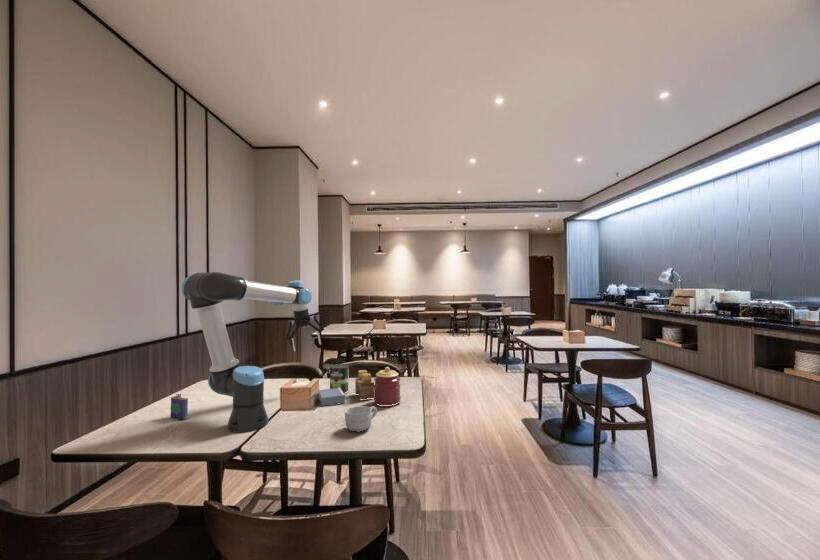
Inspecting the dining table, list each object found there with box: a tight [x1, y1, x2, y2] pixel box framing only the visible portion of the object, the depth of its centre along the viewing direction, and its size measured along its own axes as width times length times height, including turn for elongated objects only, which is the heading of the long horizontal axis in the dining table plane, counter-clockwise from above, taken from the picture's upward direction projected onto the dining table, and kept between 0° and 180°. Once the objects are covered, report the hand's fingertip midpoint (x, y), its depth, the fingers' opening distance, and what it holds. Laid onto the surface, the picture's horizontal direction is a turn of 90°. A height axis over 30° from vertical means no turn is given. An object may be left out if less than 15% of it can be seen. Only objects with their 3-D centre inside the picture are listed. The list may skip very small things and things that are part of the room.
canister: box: [373, 366, 401, 405], centre depth 177 cm, size 13×13×18 cm
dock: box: [318, 387, 346, 407], centre depth 181 cm, size 14×11×4 cm
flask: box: [170, 393, 189, 421], centre depth 157 cm, size 9×3×11 cm, turn 68°
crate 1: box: [357, 369, 368, 380], centre depth 191 cm, size 4×4×4 cm
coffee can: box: [329, 363, 350, 393], centre depth 196 cm, size 10×10×14 cm
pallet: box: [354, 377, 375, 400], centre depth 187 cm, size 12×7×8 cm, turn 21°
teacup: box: [344, 405, 378, 432], centre depth 145 cm, size 14×11×8 cm
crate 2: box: [362, 372, 372, 384], centre depth 183 cm, size 4×4×4 cm
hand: (307, 347), depth 194 cm, fingers open, 13 cm apart
